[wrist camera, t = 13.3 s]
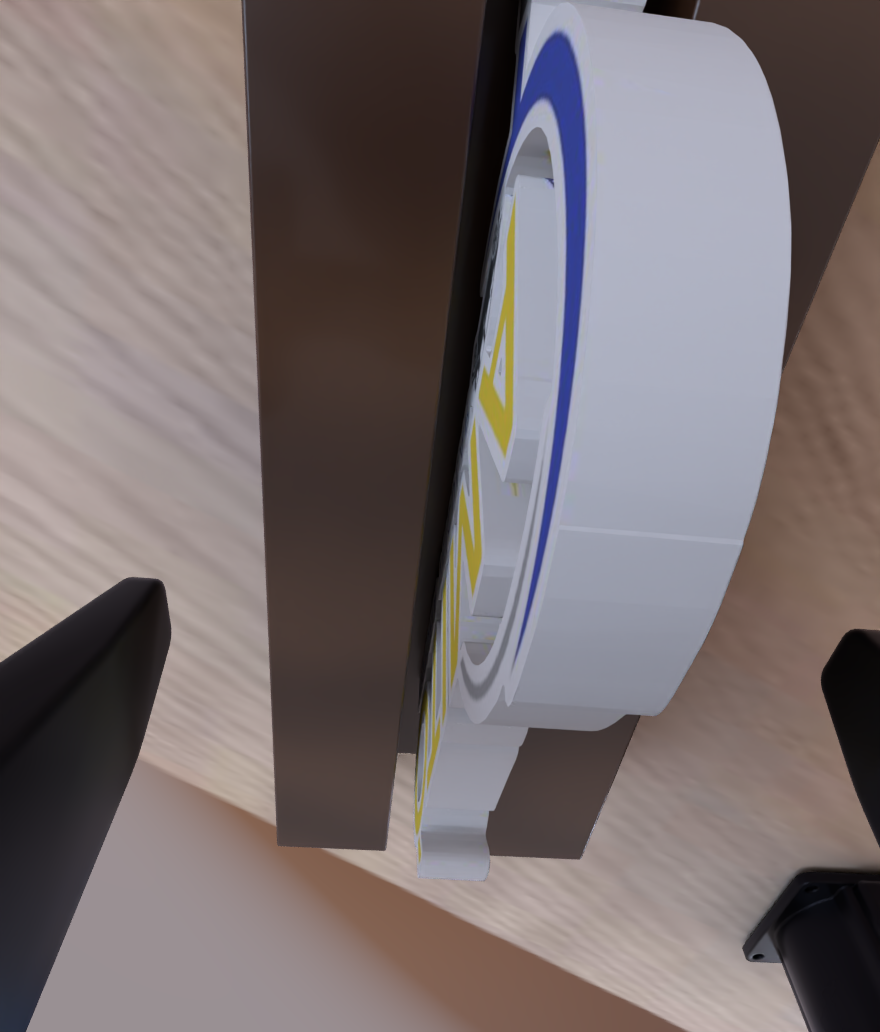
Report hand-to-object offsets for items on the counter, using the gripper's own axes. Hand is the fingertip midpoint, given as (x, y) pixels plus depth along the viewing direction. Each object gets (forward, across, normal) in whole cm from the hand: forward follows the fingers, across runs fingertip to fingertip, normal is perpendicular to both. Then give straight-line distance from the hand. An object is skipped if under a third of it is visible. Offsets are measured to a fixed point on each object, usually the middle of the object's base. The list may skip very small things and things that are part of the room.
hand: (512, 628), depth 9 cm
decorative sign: (+6, 0, 0) cm, 6 cm away
